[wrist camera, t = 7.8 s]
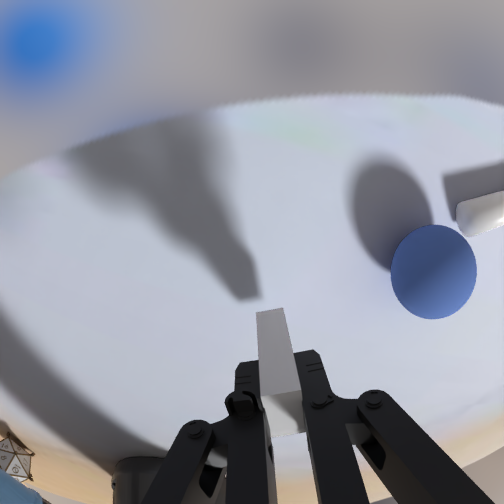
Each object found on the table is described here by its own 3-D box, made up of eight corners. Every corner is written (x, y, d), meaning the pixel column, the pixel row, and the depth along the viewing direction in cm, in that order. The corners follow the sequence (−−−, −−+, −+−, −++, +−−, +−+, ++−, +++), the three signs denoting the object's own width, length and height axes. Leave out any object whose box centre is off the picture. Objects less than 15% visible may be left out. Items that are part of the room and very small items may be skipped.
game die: (22, 427, 30) (-24, 440, 22) (22, 427, 26) (-32, 441, 18) (47, 475, 28) (2, 490, 20) (52, 482, 24) (-1, 499, 16)
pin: (453, 197, 16) (521, 180, 16) (456, 232, 17) (522, 209, 17) (476, 204, 14) (542, 185, 13) (477, 243, 15) (542, 216, 14)
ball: (472, 300, 16) (400, 319, 18) (456, 221, 17) (384, 241, 19) (493, 313, 11) (398, 338, 14) (472, 207, 12) (377, 234, 14)
